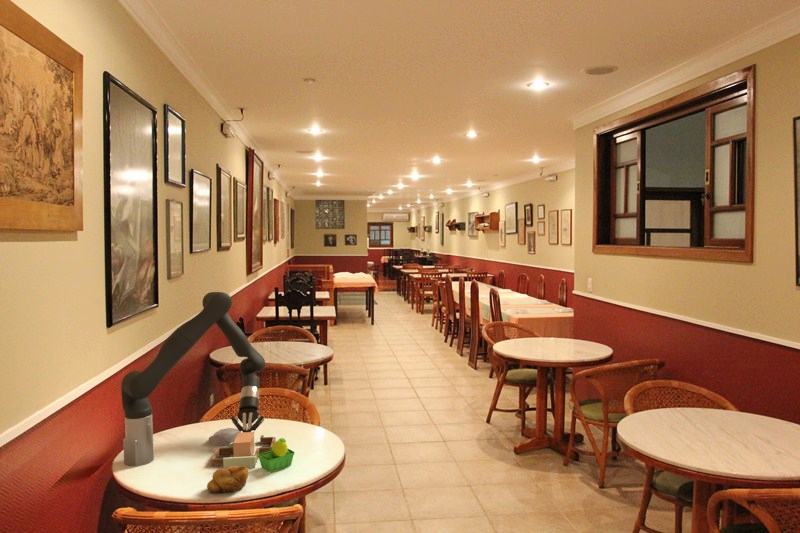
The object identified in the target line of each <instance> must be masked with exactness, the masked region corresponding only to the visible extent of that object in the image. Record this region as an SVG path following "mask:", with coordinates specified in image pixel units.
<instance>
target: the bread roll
mask: <svg viewBox="0 0 800 533" xmlns="http://www.w3.org/2000/svg"><path fill="white" fill-rule="evenodd" d="M248 469H249V468H247V467H246V466H238V467H237V466H230V467H228V468H227V469H223V468H218V469H216V470H215V471H214V473H213V474H212V479H211V480H210V481H208V483H207V484H206V489H207V490H208V492H210V493H214V494H217V493H222V492H225V493H226V492H227V493H228V492H237V491H240V490H242V489H243V488H244V487H246V486H245V485H246V484H247V481H248V480H247V479H248V477H249V470H248Z"/></svg>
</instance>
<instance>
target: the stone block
mask: <svg viewBox="0 0 800 533" xmlns="http://www.w3.org/2000/svg"><path fill="white" fill-rule="evenodd" d="M238 433H242V431H239V430H238V429H237V428H234V427H227V428H223V429H218V431H216V432H214V433H213V435H210V436H209V437H208V443H209V444H210V445H213V446H230V445H232V443H233V441H234V439H235V437H236V436H237V434H238Z"/></svg>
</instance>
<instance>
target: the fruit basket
mask: <svg viewBox="0 0 800 533" xmlns="http://www.w3.org/2000/svg"><path fill="white" fill-rule="evenodd" d="M294 456H295V451H294V450H292V449H290V448H288V444H287V440H286V438H283V437H281V438H279V439H277V441H276V442H275V443H274V444H273V445H272V451H268V452H265V453H262V454H259V455H258V460H259V464H260V466H261V469H262V470H264V471H266V472H268V473H269V472H270V473H273V472H277V471H278V470H283V469H285V468H287V467H291V466H292V464H293V457H294Z"/></svg>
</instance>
